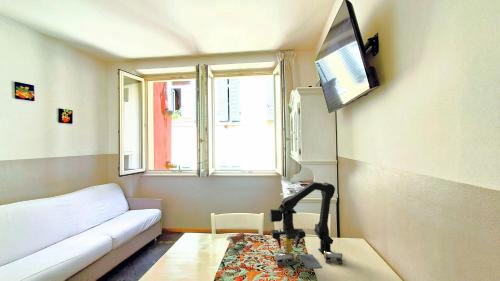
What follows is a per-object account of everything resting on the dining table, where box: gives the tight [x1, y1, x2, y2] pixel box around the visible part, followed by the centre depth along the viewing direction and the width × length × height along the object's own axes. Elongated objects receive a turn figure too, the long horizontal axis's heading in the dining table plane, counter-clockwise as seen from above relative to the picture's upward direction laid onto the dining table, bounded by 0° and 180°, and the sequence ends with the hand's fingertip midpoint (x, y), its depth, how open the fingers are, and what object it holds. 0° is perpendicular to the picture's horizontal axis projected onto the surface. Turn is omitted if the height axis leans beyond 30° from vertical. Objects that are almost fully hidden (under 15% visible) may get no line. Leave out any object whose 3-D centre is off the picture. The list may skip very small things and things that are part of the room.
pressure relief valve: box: [276, 236, 294, 254], centre depth 131 cm, size 6×12×10 cm, turn 135°
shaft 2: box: [323, 251, 343, 265], centre depth 125 cm, size 9×4×5 cm, turn 76°
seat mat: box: [298, 253, 323, 270], centre depth 125 cm, size 14×8×1 cm, turn 6°
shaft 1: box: [275, 252, 297, 266], centre depth 124 cm, size 10×4×5 cm, turn 96°
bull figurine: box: [225, 231, 245, 250], centre depth 144 cm, size 4×13×8 cm, turn 133°
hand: (288, 248), depth 134 cm, fingers open, 9 cm apart
